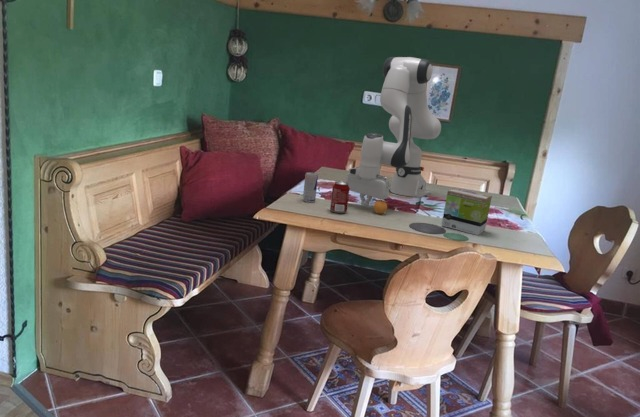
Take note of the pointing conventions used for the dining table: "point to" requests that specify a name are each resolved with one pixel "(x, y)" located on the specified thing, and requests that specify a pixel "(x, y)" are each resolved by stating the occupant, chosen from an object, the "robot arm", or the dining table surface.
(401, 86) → the robot arm
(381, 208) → the ball
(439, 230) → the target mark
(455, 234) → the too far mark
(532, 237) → the dining table surface
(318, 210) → the dining table surface
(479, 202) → the tea box
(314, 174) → the energy drink
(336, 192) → the soda can
